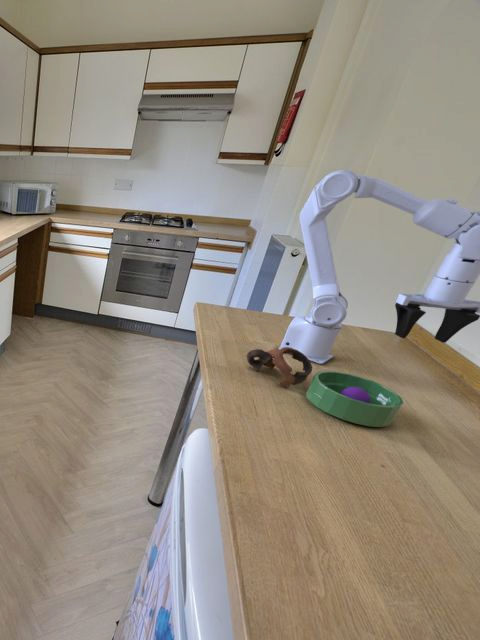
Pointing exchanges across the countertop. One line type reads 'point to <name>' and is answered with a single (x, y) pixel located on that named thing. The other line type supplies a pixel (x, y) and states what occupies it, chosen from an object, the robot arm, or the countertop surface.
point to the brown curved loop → (281, 364)
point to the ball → (356, 394)
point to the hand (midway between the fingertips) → (419, 338)
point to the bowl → (330, 400)
